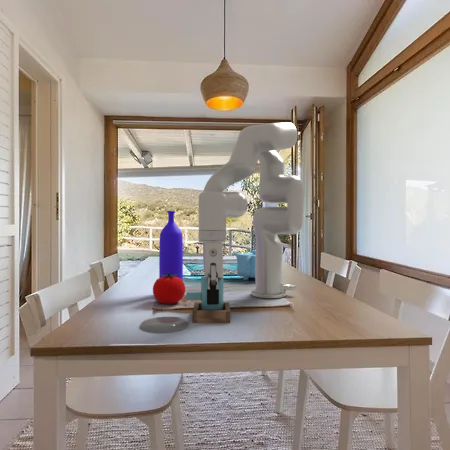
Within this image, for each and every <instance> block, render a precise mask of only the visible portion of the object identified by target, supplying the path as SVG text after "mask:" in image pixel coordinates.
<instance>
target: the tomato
mask: <svg viewBox="0 0 450 450" xmlns="http://www.w3.org/2000/svg"><path fill="white" fill-rule="evenodd" d="M160 275H161V274H160ZM176 275H178V274H176ZM162 276H163V277H160V278H157V279H156V280H155V282H153V286H152V294H153V297H154V298H155V300H156V302H157V301H158V302H159V303H161V304H162V305H173V304H177V303H179V302H180V301H181V300H182V299H183V298H184V297H185V295H186V286H185V282H184V281H182V279H181V278H179V277H176V276H175V275H171V273H168V274H167V276H166V275H162Z"/></svg>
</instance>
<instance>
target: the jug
mask: <svg viewBox="0 0 450 450" xmlns="http://www.w3.org/2000/svg"><path fill="white" fill-rule="evenodd" d="M209 278H211V276H209ZM207 289H208V279H206V278H205V275H204V276H201V277H200V291H185V295H186V299H185V300H186V301H200V302H201V310H223V302H224V277H223V278H222V279H221V278H220V277H219V276H218V289H219V304H217V305H208V304H207Z"/></svg>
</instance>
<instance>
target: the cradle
mask: <svg viewBox="0 0 450 450" xmlns="http://www.w3.org/2000/svg"><path fill="white" fill-rule="evenodd" d="M191 320H192V324H231V305H230V302H229V301H227V302H226V301H223V310H201V301H195V302H194V305H193V308H192V319H191Z"/></svg>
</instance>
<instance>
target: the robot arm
mask: <svg viewBox="0 0 450 450" xmlns="http://www.w3.org/2000/svg"><path fill="white" fill-rule="evenodd" d="M297 130H298V129H297V128H296V126H295V124H293V123H292V122H287V121H286V122H271V123H270V122H269V123H263V124H254V125H249V126H246V127H244V128H243V129H242V130H241V131H240V133H239V134H238V137H237V140H236V142H235V144H234V147H233V151H232V152H231V155H230V157H229V160H228V161H227V162H226V163H225V164H224V165H222V166H220V168H218V169H217V171H216V172H215V173H213V174H212V175H211V176H210V178H209V179H208V180H207V182H206V183H205V186H204V187H203V191H201V192H200V193H199V195H198V243H202V255H203V256H202V258H203V259H202V261H203V262H202V264H203V272H204V276H205V278H206V279H208V289H207V304H208V305H217V304H219V289H218V276H219V277H220V278H221V279H222V278H223V279H224V254H223V253H224V248H223V243H227V232H226V231H227V218H228V219H231V218H233V219H234V218H235V219H236V218H240V217H242V216H243V215H245V213H246V212H247V210H248V205H249V204H248V200H247V197H246V196H245V195H244V194H243V193H241V192H238V191H225V190H227V188H229V187H230V186H232V185H234V184H236V183H238V182H240V181H242V180H245V179H246V178H249V177H251V176H252V175H253V174H254V173H255V170H256V167H257V164H258V162H259V183H258V184H259V185H258V196H259V199H260V201H261V202H263V203H268V204H286V206H264V207H260V208H258V209H257V210H255V212H254V213H253V217H252V224H253V229H254V235H255V236H254V237H255V250H256V278H254V280H255V287H254V289H252V290H250V295H251V296H253V297H256V298H261V299H280V298H285V297H286V296H287V291H296V284H290V283H289V284H288V283H286V284H285V283H284V282H283V244H282V242H281V240H280V237H279V236H277V235H296V234H299V233H300V232H301V230H302V228H303V221H304V204H305V203H304V202H305V201H304V200H305V188H304V184H303V180H302V179H301V178H300V177H299V176H297V175H284V174H285V173H284V169H285V168H284V167H285V164H284V161H283V159H282V158H283V157H281V155H279V153H278V152H277V151H282V150H287V149H291V148H293V147H294V146H295V145H296V143H297V140H298V131H297ZM209 276H211V278H209Z"/></svg>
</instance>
